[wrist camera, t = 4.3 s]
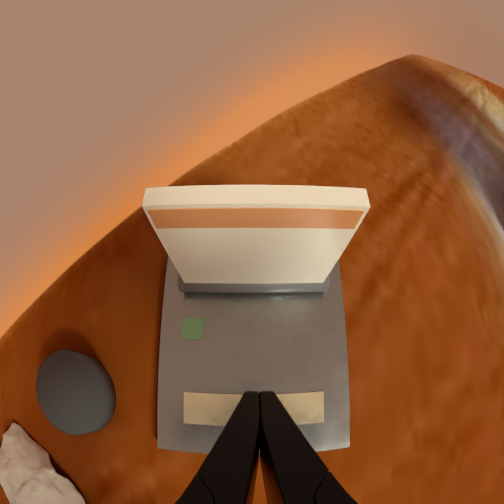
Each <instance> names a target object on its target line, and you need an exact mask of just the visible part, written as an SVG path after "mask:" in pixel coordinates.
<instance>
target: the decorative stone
mask: <svg viewBox="0 0 504 504" xmlns="http://www.w3.org/2000/svg"><path fill="white" fill-rule="evenodd" d="M0 483H1V486H2V487H3V489H4V492H5V494H6V496H7V498H8V500H9V504H86V503H85V500H84V498H83V497H82V495H81V494H80V493H79V492H78V491H77V489H76V488H75V486H74V485H73V484H72V483H71V482H70V481H69V480H68V479H67V478H64V477H63V476H61V475H59V474H58V473H57V472H56V471H55V469H54V468H53V466H52V464H51V462H50V458H49V454H48V453H47V452H46V451H45V450H44V449H43V448H42V447H41V446H39V445H38V444H37V443H36V442H35V441H33V440H32V439H31V438H30V437H29V436H28V434H27V433H26V432H25V430H23V428H22V427H21V426H19V425H18V424H16V423H12V424H11V426H10V428H9V429H8V430H7V431H6V432H5V433H4V434H3V440H2V445H1V448H0Z"/></svg>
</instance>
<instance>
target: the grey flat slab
mask: <svg viewBox="0 0 504 504" xmlns="http://www.w3.org/2000/svg"><path fill="white" fill-rule="evenodd" d="M329 276H330V284H329V289H328V291H327V292H289V293H214V292H180V291H179V288H178V271H177V269H176V268H175V266H174V264H173V262H172V261H171V259H170V257H169V255H168V261H167V270H166V279H165V288H164V298H163V309H162V321H161V335H160V351H159V371H158V408H157V436H158V448H160V449H167V450H175V451H184V452H194V453H207V454H209V452H210V451H211V449H212V447H213V446H214V444H215V442H216V441H217V439H218V437H219V436H220V434H221V432H222V430H223V429H224V427H225V425H226V424H227V422H228V420H229V418H230V417H231V415H232V413H233V411H234V410H235V408H236V406H237V404H238V403H239V401H240V399H241V397H242V395H243V394H244V392H245V391H258V392H260V391H274V392H275V394H276V395H277V397H278V398H279V400H280V401H281V403H282V404H283V406H284V407H285V409H286V410H287V412H288V413H289V415H290V416H291V418H292V419H293V420H294V422H295V423H296V425H297V426H298V428H299V429H300V431H301V432H302V433H303V435H304V436H305V438H306V439H307V440H308V442H309V443H310V445H311V446H312V447H313V449H314V450H315V451H324V450H332V449H339V448H346V447H350V406H349V375H348V355H347V340H346V327H345V315H344V305H343V295H342V285H341V277H340V269H339V261H337V262H336V264H335V265H334V267H333V268H332V270H331V272H330V273H329ZM259 455H260V454H259Z"/></svg>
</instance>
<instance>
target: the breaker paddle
mask: <svg viewBox="0 0 504 504" xmlns="http://www.w3.org/2000/svg"><path fill="white" fill-rule="evenodd" d="M142 208H143V210H144V212H145V213H146V215H147V217H148V219H149V221H150V223H151V225H152V227H153V228H154V230H155V232H156V234H157V236H158V238H159V239H160V241H161V243H162V245H163V247H164V248H165V250H166V252H167V254H168V255H169V257H170V259H171V261H172V262H173V264H174V266H175V268H176V269H177V271H178V288H179V291H180V292H214V293H289V292H327V291H328V289H329V284H330V276H329V273H330V272H331V270H332V268H333V267H334V265H335V264H336V262H337V261H338V259H339V258H340V256H341V254H342V253H343V251H344V250H345V248H346V246H347V245H348V243H349V242H350V240H351V238H352V237H353V235H354V233H355V232H356V230H357V228H358V227H359V225H360V223H361V222H362V220H363V218H364V217H365V215H366V213H367V212H368V210H369V208H370V203H369V199H368V195H367V192H366V189H362V188H345V187H326V186H298V185H198V186H170V187H150V188H146V190H145V193H144V197H143V202H142Z"/></svg>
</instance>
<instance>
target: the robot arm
mask: <svg viewBox="0 0 504 504" xmlns="http://www.w3.org/2000/svg"><path fill="white" fill-rule="evenodd" d="M259 454H260V463H261V469H262V475H263V481H264V486H265V492H266V498H267V504H358V503H357V502H356V501H355V500H354V499H353V498H352V497H351V496H350V495H349V494H348V493H347V492H346V491H345V490H344V488H343V487H342V486H341V485H340V484H339V482H338V481H337V480H336V478H335V477H334V476H333V474H332V473H331V472H328V471H329V469H328V468H327V467H326V465H325V464H324V463H323V461H322V460H321V458H320V457H319V456H318V454H317V453H316V452H315V450H314V449H313V447H312V446H311V445H310V443H309V442H308V440H307V439H306V438H305V436H304V435H303V433H302V432H301V431H300V429H299V428H298V426H297V425H296V423H295V422H294V420H293V419H292V418H291V416H290V415H289V413H288V412H287V410H286V409H285V407H284V406H283V404H282V403H281V401H280V400H279V398H278V397H277V395H276V394H275V392H274V391H260V392H258V391H245V392H244V394H243V395H242V397H241V399H240V401H239V403H238V404H237V406H236V408H235V410H234V411H233V413H232V415H231V417H230V418H229V420H228V422H227V424H226V425H225V427H224V429H223V430H222V432H221V434H220V436H219V437H218V439H217V441H216V442H215V444H214V446H213V447H212V449H211V451H210V452H209V454H208V456H207V457H206V459H205V460H204V462H203V464H202V465H201V467H200V469H199V470H198V472H197V475H195V476H194V478H193V479H192V481H191V482H190V484H189V486H188V487H187V488H186V490H185V491H184V493H183V494H182V495H181V497H180V498H179V499H178V500H177V502H176V503H175V504H253V497H254V490H255V483H256V476H257V469H258V461H259Z"/></svg>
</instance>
